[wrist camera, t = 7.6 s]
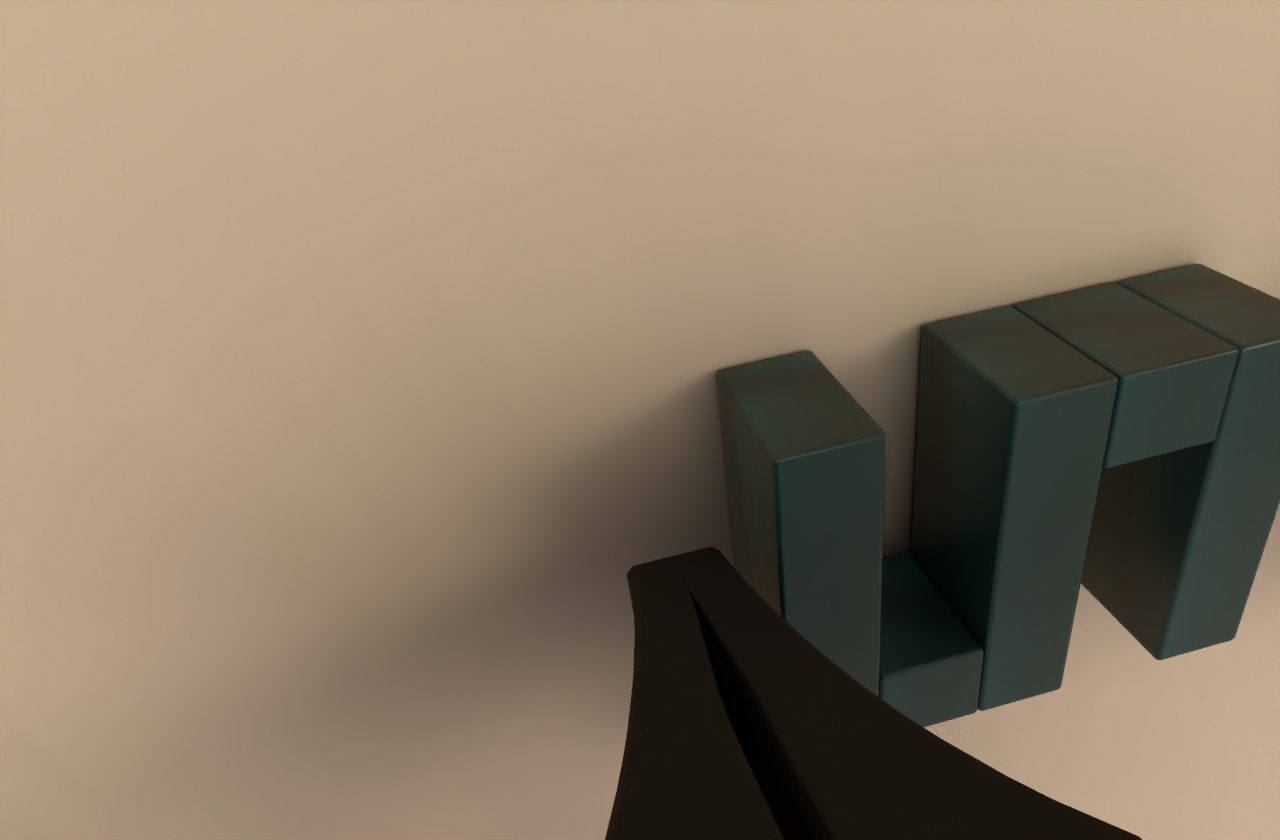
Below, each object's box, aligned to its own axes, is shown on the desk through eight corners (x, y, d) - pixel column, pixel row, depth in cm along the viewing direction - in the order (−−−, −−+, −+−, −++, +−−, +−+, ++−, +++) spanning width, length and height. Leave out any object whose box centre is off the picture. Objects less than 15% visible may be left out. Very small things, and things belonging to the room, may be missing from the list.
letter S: (742, 653, 16) (791, 767, 14) (714, 369, 13) (773, 460, 11) (1133, 549, 17) (1236, 641, 15) (1199, 261, 14) (1341, 324, 12)
